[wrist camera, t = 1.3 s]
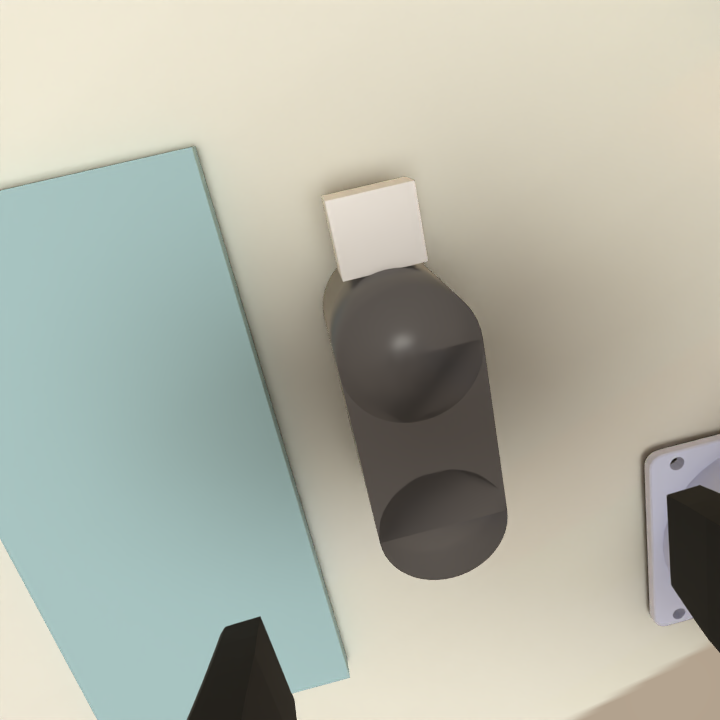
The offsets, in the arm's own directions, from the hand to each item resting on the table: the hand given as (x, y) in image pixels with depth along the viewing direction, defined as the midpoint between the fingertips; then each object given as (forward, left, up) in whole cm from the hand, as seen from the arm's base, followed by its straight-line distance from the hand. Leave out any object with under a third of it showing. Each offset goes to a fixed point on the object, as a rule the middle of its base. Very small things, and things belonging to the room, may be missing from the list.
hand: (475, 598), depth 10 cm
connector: (0, 0, -10) cm, 10 cm away
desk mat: (+8, +2, -10) cm, 13 cm away
